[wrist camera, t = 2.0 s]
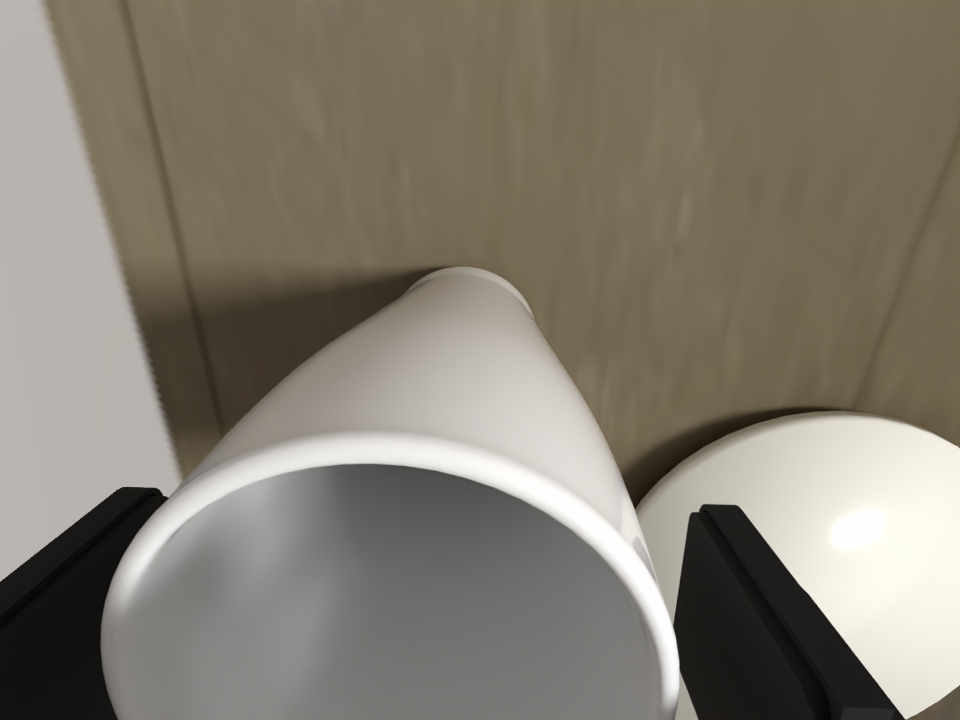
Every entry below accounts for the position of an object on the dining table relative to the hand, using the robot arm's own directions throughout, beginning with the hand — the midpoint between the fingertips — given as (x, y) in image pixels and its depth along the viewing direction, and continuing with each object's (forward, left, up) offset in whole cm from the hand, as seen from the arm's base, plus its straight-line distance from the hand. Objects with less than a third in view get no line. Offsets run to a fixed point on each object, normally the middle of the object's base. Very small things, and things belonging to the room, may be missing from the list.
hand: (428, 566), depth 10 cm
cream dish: (+9, +14, -11) cm, 20 cm away
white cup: (-1, 0, -12) cm, 12 cm away
